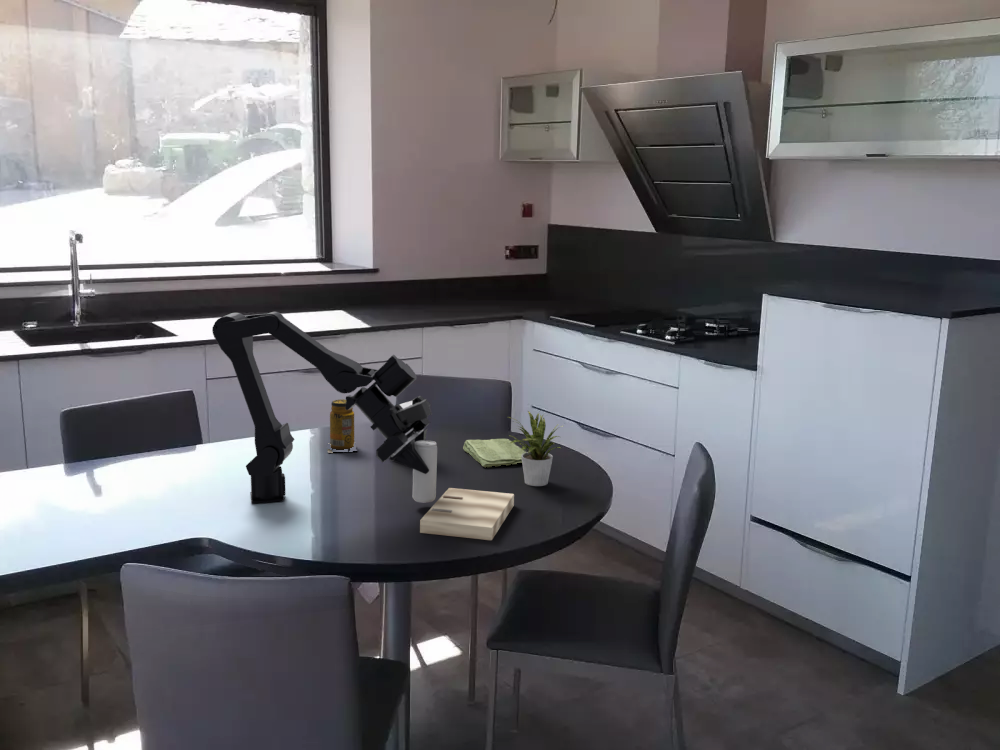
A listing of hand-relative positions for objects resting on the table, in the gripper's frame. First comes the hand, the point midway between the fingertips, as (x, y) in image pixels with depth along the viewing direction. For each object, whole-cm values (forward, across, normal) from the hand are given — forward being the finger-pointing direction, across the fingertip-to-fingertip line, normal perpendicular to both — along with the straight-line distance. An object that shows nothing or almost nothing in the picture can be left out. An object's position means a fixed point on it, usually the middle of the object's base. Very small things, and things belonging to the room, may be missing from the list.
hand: (431, 468), depth 182 cm
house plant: (+18, +23, -6) cm, 30 cm away
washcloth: (+10, +40, +3) cm, 41 cm away
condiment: (-18, +35, +30) cm, 50 cm away
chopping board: (+12, -4, -1) cm, 13 cm away
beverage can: (+4, 0, +6) cm, 7 cm away
